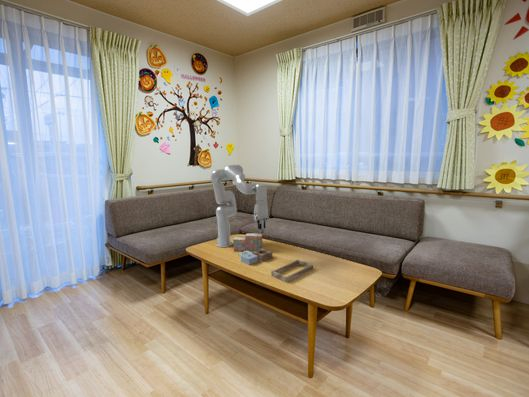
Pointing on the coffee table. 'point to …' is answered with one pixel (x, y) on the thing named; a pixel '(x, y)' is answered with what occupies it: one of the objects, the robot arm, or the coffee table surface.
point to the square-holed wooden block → (263, 254)
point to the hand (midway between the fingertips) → (261, 228)
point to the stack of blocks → (248, 242)
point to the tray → (243, 253)
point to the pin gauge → (262, 226)
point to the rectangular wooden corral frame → (288, 266)
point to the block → (249, 258)
